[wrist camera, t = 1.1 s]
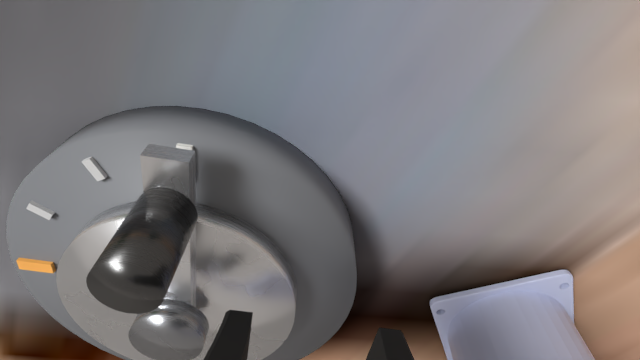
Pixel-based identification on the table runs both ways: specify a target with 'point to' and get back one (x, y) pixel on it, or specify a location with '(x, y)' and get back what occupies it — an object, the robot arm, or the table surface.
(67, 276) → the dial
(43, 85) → the table surface
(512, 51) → the table surface
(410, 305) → the table surface
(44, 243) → the dial base
